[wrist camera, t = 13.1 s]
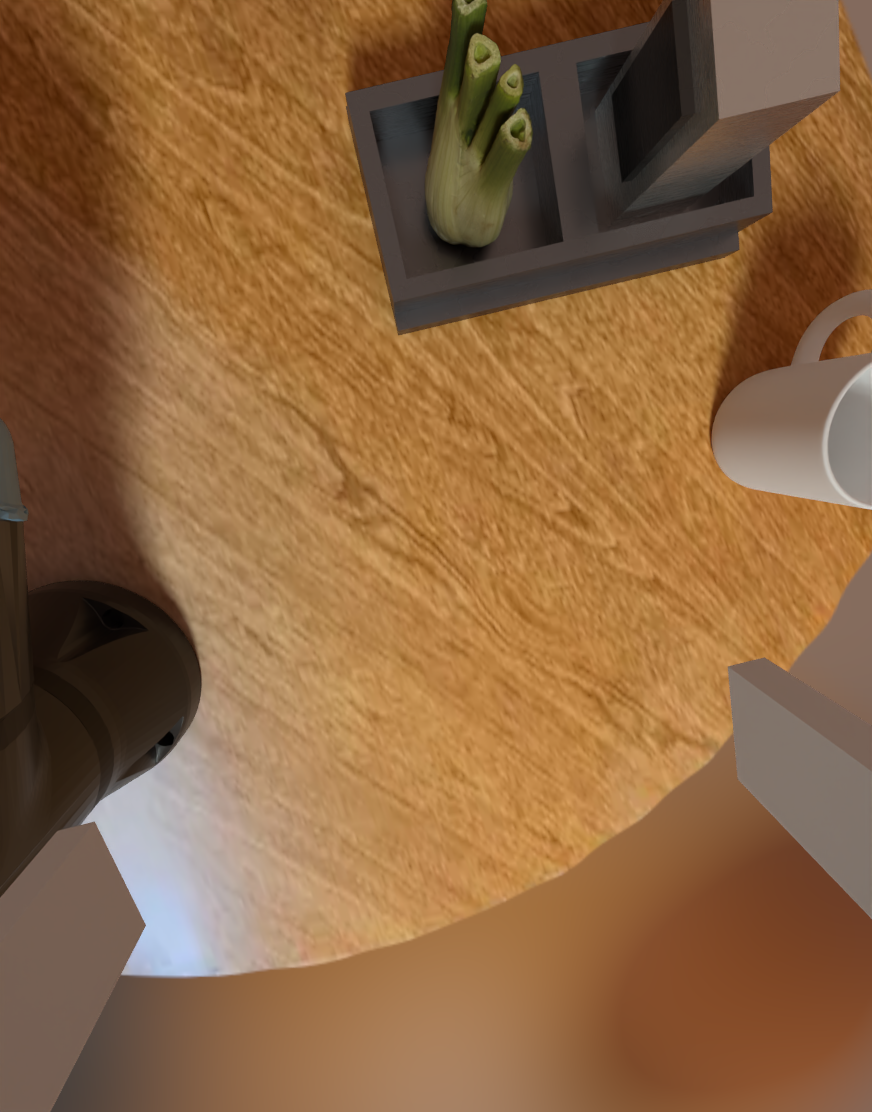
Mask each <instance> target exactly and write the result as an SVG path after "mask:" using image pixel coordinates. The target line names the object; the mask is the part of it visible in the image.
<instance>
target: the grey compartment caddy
mask: <svg viewBox="0 0 872 1112" xmlns="http://www.w3.org/2000/svg"><path fill="white" fill-rule="evenodd" d="M514 64H516V65H518V66H519V67H520V69H521V72H522V76H523V80H524V87H523V93H522V95H521V97H520V101H519V103H518V105H517V107H516V108H515V110H514V112H513V113H512V115H514V114H515V113H516V112H517V111H518V109H520V108H525V109H526V111H527V112H528V114H529V117H530V119H531V122H532V124H531V125H532V129H533V135H532V143H531V148H530V149H529V150H528V151H527V153H526V155H525V157H524V158H523V160H522V162H521V163H520V165H519V166H518V168H517V171H516V173H515V176H514V177H513V195H512V199H511V203H510V206H509V208H508V210H507V213H506V216H505V219H504V223H503V226H502V229H501V231H500V234H499V236H498V237H497V239H496V240H495V241H494V242H492V243H490V244H489V245H486V246H483V247H480V248H472V247H467V246H465V245H452V244H449V243H448V242H446V241H444V240H442V239H441V238H440V237H439V236H438V235H437V233H436V232H435V231H434V229H433V228H432V226H431V224H430V221H429V218H428V214H427V208H426V199H425V175H426V171H427V165H428V159H429V156H430V153H431V145H432V138H433V133H434V127H435V119H436V112H437V104H438V100H439V94H440V89H441V84H442V77H443V72H444V70H441V71H437V72H433V73H429V74H424V75H420V76H416V77H412V78H407V79H403V80H399V81H394V82H390V83H386V84H382V85H377V86H373V87H369V88H365V89H360V90H356V91H352V92H348V93H345V95H346V101H347V106H346V109H347V114H348V120H349V125H350V129H351V134H352V138H353V142H354V147H355V151H356V155H357V160H358V164H359V168H360V172H361V177H362V181H363V185H364V190H365V194H366V198H367V202H368V207H369V211H370V215H371V220H372V224H373V228H374V233H375V237H376V241H377V245H378V250H379V254H380V258H381V263H382V267H383V271H384V276H385V280H386V284H387V288H388V293H389V297H390V301H391V306H392V310H393V314H394V319H395V323H396V327H397V331H398V335H402V334H406V333H410V332H414V331H419V330H423V329H427V328H431V327H435V326H440V325H444V324H448V323H452V322H456V321H461V320H465V319H469V318H473V317H477V316H481V315H486V314H490V313H494V312H498V311H502V310H507V309H511V308H515V307H519V306H523V305H528V304H532V303H536V302H540V301H544V300H549V299H553V298H557V297H561V296H565V295H570V294H574V293H578V292H582V291H586V290H590V289H595V288H599V287H603V286H607V285H611V284H616V283H620V282H624V281H628V280H632V279H637V278H641V277H645V276H649V275H653V274H658V273H662V272H666V271H670V270H674V269H678V268H683V267H687V266H691V265H695V264H699V263H704V262H708V261H712V260H716V259H720V258H725V257H726V256H728V255H730V254H732V253H734V252H736V251H738V250H739V238H738V232H739V231H741V230H743V229H744V228H746V227H748V226H749V225H751V224H753V223H755V222H756V221H758V220H760V219H762V218H763V217H765V216H767V215H768V214H770V213H772V212H773V211H772V191H771V171H770V151H769V145H770V144H771V143H773V142H774V141H775V140H777V139H778V138H779V137H780V136H782V135H783V134H784V133H786V132H787V131H788V130H790V129H791V128H792V127H793V126H795V125H796V124H797V123H799V122H800V121H801V120H803V119H804V118H805V117H806V116H808V115H809V114H810V113H812V112H813V111H814V110H816V109H817V108H818V107H819V106H821V105H822V104H823V103H825V102H826V101H827V100H829V99H830V98H831V97H832V96H834V95H835V94H836V93H838V92H839V91H840V67H839V12H838V0H663V1H662V3H661V4H660V6H659V8H658V9H657V11H656V13H655V14H654V16H653V18H652V19H651V21H650V22H646V23H642V24H637V25H633V26H629V27H625V28H620V29H616V30H612V31H608V32H603V33H599V34H595V35H591V36H586V37H582V38H578V39H574V40H569V41H565V42H561V43H556V44H552V45H548V46H544V47H539V48H535V49H531V50H527V51H522V52H518V53H514V54H510V55H505V56H501V62H500V68H499V72H498V76H497V81H496V86H497V84H498V82H499V79H500V77H501V76H502V75H503V74H504V73H505V72H506V71H508V70H509V69H510V68H511V66H512V65H514ZM496 86H495V88H496Z"/></svg>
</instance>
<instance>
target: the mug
mask: <svg viewBox="0 0 872 1112" xmlns="http://www.w3.org/2000/svg"><path fill="white" fill-rule="evenodd" d="M858 315H865V316H869V317H870V318H871V319H872V290H863V291H858V292H854V293H852V294H849V295H847V296H844V297H843V298H841V299H839V300H837V301H835V302H834V303H832V304H831V305H829V306H828V307H827V308H825V309H824V310H823V311H822V312H821V313H820V314H819V315H818V316H817V317H816V318H815V319H814V320H813V321H812V322H811V324H810V325H809V326H808V328H807V329H806V331H805V332H804V334H803V336H802V338H801V339H800V341H799V344H798V346H797V348H796V351H795V353H794V356H793V359H792V363H791V366H787V367H781V368H777V369H772V370H767V371H764V372H761V373H758V374H755V375H753V376H751V377H749V378H747V379H746V380H744V381H743V382H741V383H740V384H739V385H738V386H736V387H735V388H734V389H733V390H732V391H731V392H730V393H729V394H728V396H727V397H726V398H725V400H724V401H723V402H722V404H721V406H720V408H719V410H718V412H717V414H716V416H715V420H714V423H713V428H712V438H711V440H712V449H713V454H714V456H715V459H716V461H717V463H718V465H719V467H720V468H721V470H722V471H723V472H724V473H725V474H726V475H727V476H728V477H729V478H730V479H731V480H733V481H734V482H736V483H738V484H740V485H742V486H745V487H748V488H751V489H756V490H761V491H766V492H772V493H778V494H784V495H790V496H796V497H801V498H807V499H813V500H819V501H825V502H830V503H836V504H842V505H848V506H854V507H859V508H865V509H871V510H872V352H871V353H868V354H862V355H855V356H849V357H842V358H836V359H829V360H823V361H819V358H820V354H821V351H822V348H823V346H824V344H825V342H826V340H827V338H828V337H829V335H830V334H831V333H832V331H833V330H834V329H835V328H836V327H837V326H839V325H840V324H841V323H842V322H844V321H845V320H847V319H849V318H851V317H854V316H858Z"/></svg>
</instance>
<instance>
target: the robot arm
mask: <svg viewBox="0 0 872 1112" xmlns="http://www.w3.org/2000/svg"><path fill="white" fill-rule="evenodd" d="M27 519H28V509H27V508H26V507H25V506H24V505H23V504H22V502H21V495H20V487H19V480H18V473H17V466H16V458H15V451H14V444H13V440H12V437H11V434H10V432H9V429H8V428H7V426H6V424H5V423H4V422H3V420H2V419H1V418H0V1112H50V1111H51V1109H52V1107H53V1105H54V1103H55V1101H56V1100H57V1098H58V1096H59V1094H60V1092H61V1090H62V1088H63V1086H64V1084H65V1082H66V1080H67V1078H68V1076H69V1074H70V1072H71V1070H72V1068H73V1066H74V1064H75V1062H76V1060H77V1058H78V1057H79V1055H80V1053H81V1051H82V1049H83V1047H84V1045H85V1043H86V1041H87V1039H88V1037H89V1035H90V1033H91V1031H92V1029H93V1027H94V1025H95V1024H96V1021H97V1019H98V1018H99V1016H100V1014H101V1012H102V1010H103V1008H104V1006H105V1004H106V1002H107V1000H108V998H109V996H110V994H111V992H112V990H113V988H114V986H115V985H116V983H117V980H118V978H119V976H120V975H121V973H122V971H123V969H124V967H125V965H126V963H127V961H128V959H129V957H130V955H131V953H132V951H133V949H134V948H135V946H136V944H137V942H138V940H139V938H140V936H141V934H142V932H143V930H144V928H145V926H146V925H145V923H144V921H143V919H142V917H141V915H140V912H139V910H138V908H137V906H136V904H135V902H134V900H133V898H132V896H131V894H130V892H129V890H128V888H127V886H126V884H125V882H124V880H123V878H122V876H121V874H120V872H119V870H118V868H117V866H116V864H115V862H114V860H113V858H112V856H111V854H110V852H109V850H108V848H107V846H106V844H105V842H104V840H103V838H102V836H101V834H100V832H99V830H98V828H97V825H96V823H95V822H92V823H88V824H83V825H81V824H82V822H83V821H84V820H85V818H86V817H87V816H88V815H89V813H90V812H91V811H92V810H93V808H94V807H95V806H96V805H97V804H98V802H99V801H100V800H102V799H103V798H105V797H107V796H108V795H110V794H111V793H113V792H115V791H116V790H118V789H120V788H121V787H123V786H124V785H126V784H128V783H129V782H131V781H132V780H134V779H136V778H137V777H139V776H140V775H142V774H144V773H145V772H147V771H148V770H150V769H152V768H153V767H154V766H156V765H157V764H158V763H159V762H161V761H162V760H163V759H164V758H165V757H166V756H167V755H168V754H169V753H170V752H171V751H172V750H173V748H174V747H175V746H176V745H177V743H178V742H179V740H180V739H181V738H182V736H183V735H184V733H185V732H186V731H187V729H188V728H189V726H190V724H191V723H192V721H193V719H194V717H195V714H196V712H197V709H198V705H199V701H200V694H201V678H200V671H199V666H198V662H197V659H196V656H195V654H194V651H193V649H192V647H191V645H190V643H189V641H188V640H187V638H186V636H185V635H184V633H183V632H182V631H181V629H180V628H179V627H178V626H177V625H176V623H175V622H174V621H173V620H172V619H171V618H170V617H169V616H168V615H167V614H166V613H164V612H163V611H162V610H161V609H160V608H158V607H157V606H156V605H154V604H153V603H151V602H150V601H148V600H146V599H145V598H143V597H141V596H139V595H137V594H135V593H133V592H131V591H128V590H126V589H123V588H120V587H117V586H114V585H110V584H106V583H100V582H94V581H65V582H58V583H53V584H49V585H46V586H43V587H40V588H37V589H35V590H33V591H30V592H28V586H27V571H26V557H25V543H24V528H23V521H28V520H27ZM728 674H729V685H730V696H731V708H732V719H733V730H734V742H735V753H736V764H737V775H738V780H739V781H740V782H741V783H742V784H743V785H744V786H745V787H746V788H747V789H748V790H749V791H750V792H751V793H752V795H754V797H755V798H756V799H757V800H758V801H759V802H760V803H761V804H762V805H763V806H764V807H765V808H766V809H767V810H768V811H769V812H770V813H771V814H772V815H773V816H774V817H775V818H776V819H777V821H778V822H779V823H780V824H781V825H782V826H784V828H785V829H786V830H787V831H788V832H789V833H790V834H791V835H792V836H793V837H794V838H795V839H796V840H797V841H798V842H799V843H800V844H801V846H803V848H804V849H805V850H806V851H807V852H808V853H809V854H810V855H811V856H812V857H813V858H814V859H815V860H816V861H817V862H818V863H819V864H820V865H821V866H822V867H823V869H824V870H825V871H826V872H827V873H828V874H829V875H830V876H831V877H832V878H833V879H834V880H835V881H836V882H837V883H838V884H839V885H840V886H841V887H842V888H843V889H844V890H845V891H846V892H847V893H848V895H850V897H851V898H852V899H853V900H854V901H855V902H856V903H857V904H858V905H859V906H860V907H861V908H862V909H863V910H864V911H865V912H866V913H867V914H868V915H869V916H870V917H871V919H872V725H870V724H869V723H867V722H865V721H864V720H862V719H861V718H859V717H858V716H856V715H855V714H853V713H851V712H850V711H848V710H846V709H845V708H843V707H842V706H840V705H839V704H837V703H836V702H834V701H832V700H831V699H829V698H827V697H826V696H824V695H823V694H821V693H820V692H818V691H816V690H815V689H813V688H812V687H810V686H808V685H807V684H805V683H804V682H802V681H801V680H799V679H798V678H796V677H794V676H793V675H791V674H790V673H788V672H786V671H785V670H783V669H782V668H780V667H779V666H777V665H775V664H774V663H772V662H771V661H769V660H767V659H766V658H761V659H757V660H753V661H748V662H744V663H740V664H736V665H732V666H728Z"/></svg>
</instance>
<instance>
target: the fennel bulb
mask: <svg viewBox="0 0 872 1112" xmlns="http://www.w3.org/2000/svg"><path fill="white" fill-rule="evenodd" d="M486 8H487V0H453V1H452V20H451V33H450V41H449V45H448V50H447V56H446V63H445V68H444V72H443V77H442V84H441V89H440V94H439V100H438V104H437V112H436V119H435V127H434V133H433V138H432V145H431V153H430V156H429V159H428V165H427V171H426V175H425V199H426V208H427V214H428V218H429V221H430V224H431V226H432V228H433V229H434V231H435V232H436V233H437V235H438V236H439V237H440V238H441V239H442V240H444V241H446V242H448V243H449V244H452V245H465V246H467V247H472V248H480V247H483V246H486V245H489V244H490V243H492V242H494V241H495V240H496V239H497V237H498V236H499V234H500V231H501V229H502V226H503V223H504V219H505V216H506V213H507V210H508V208H509V206H510V203H511V199H512V195H513V177H514V176H515V173H516V171H517V168H518V166H519V165H520V163H521V162H522V160H523V158H524V157H525V155H526V153H527V151H528V150H529V149H530V148H531V143H532V135H533V129H532V125H531V124H532V122H531V119H530V117H529V114H528V112H527V111H526V109H525V108H520V109H518V111H517V112H516V113H515V114H514V115H512V113H513V112H514V110H515V108H516V107H517V105H518V103H519V101H520V97H521V95H522V93H523V87H524V80H523V76H522V72H521V69H520V67H519V66H518V65H516V64H514V65H512V66H511V68H510V69H509V70H508V71H506V72H505V73H504V74H503V75H502V76H501V77H500V79H499V82H498V84H497V86H496V81H497V76H498V72H499V68H500V62H501V56H500V52H499V48H498V46H497V44H496V43H495V42H493V41H492V40H491V39H489V38H488V37H486V36H485V35H482V31H483V26H484V20H485V14H486ZM495 86H496V88H495Z"/></svg>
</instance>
